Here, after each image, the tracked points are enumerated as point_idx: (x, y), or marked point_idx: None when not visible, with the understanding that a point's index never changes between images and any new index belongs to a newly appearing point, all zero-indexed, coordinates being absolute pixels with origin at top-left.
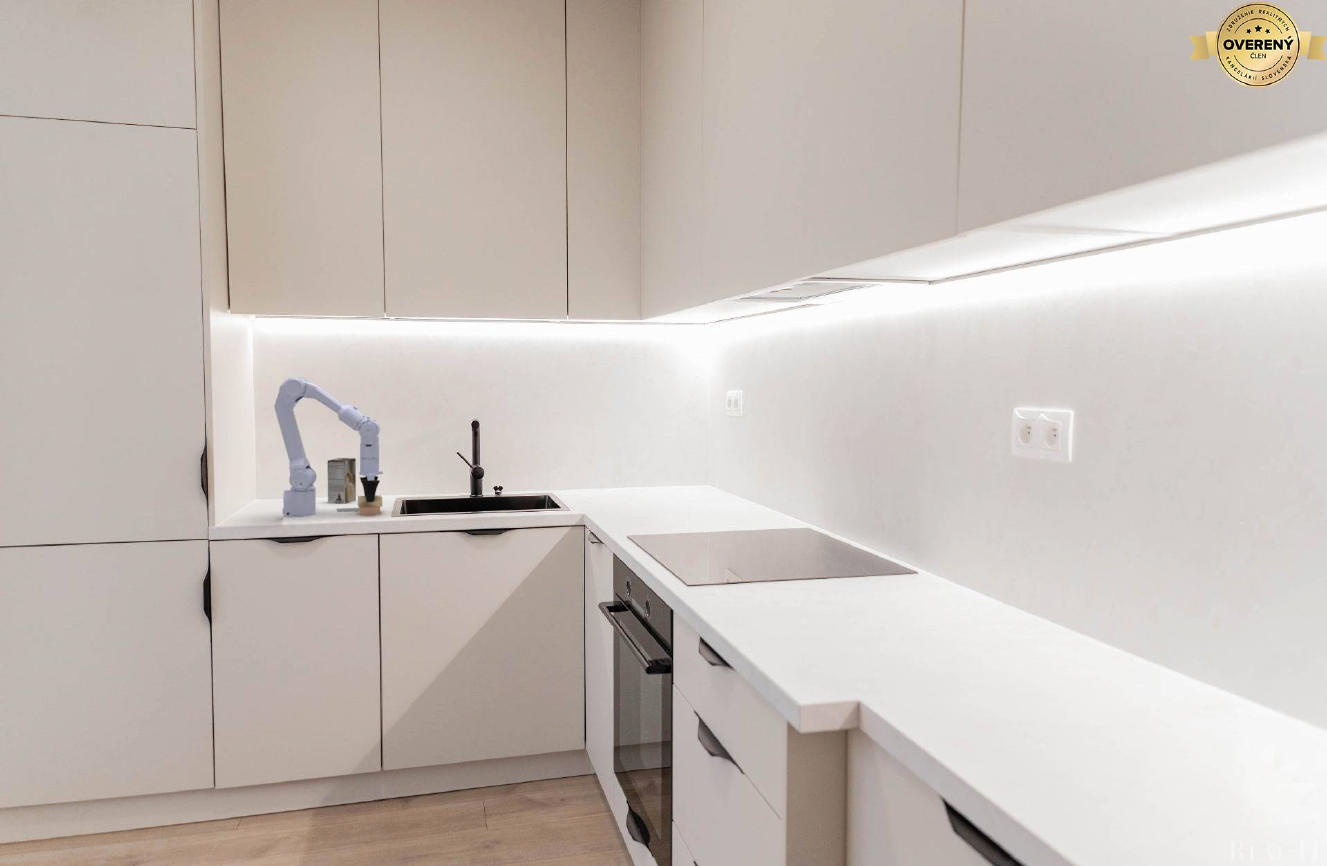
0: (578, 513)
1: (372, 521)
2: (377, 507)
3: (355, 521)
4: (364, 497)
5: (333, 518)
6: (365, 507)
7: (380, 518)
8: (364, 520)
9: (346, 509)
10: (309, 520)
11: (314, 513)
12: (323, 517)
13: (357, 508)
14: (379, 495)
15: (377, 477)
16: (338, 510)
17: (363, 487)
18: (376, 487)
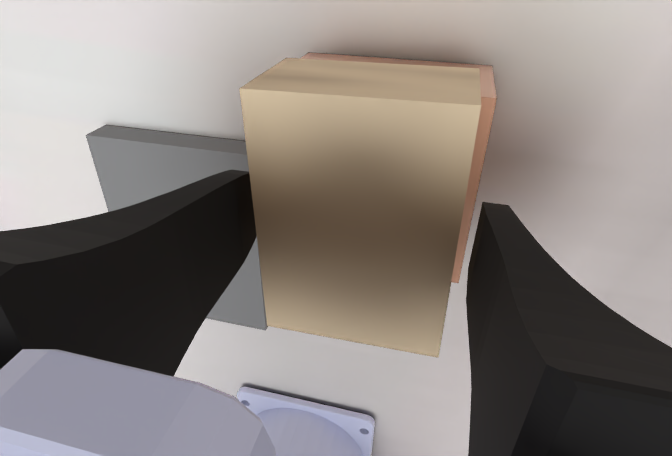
0: None
1: (660, 162)
2: (488, 126)
3: (571, 275)
4: (398, 302)
5: (373, 349)
6: (458, 239)
7: (516, 64)
8: (558, 211)
9: None
10: (400, 441)
11: (324, 433)
12: (320, 376)
13: (131, 198)
14: (260, 110)
15: (10, 289)
16: (210, 312)
17: (188, 343)
18: (634, 331)
